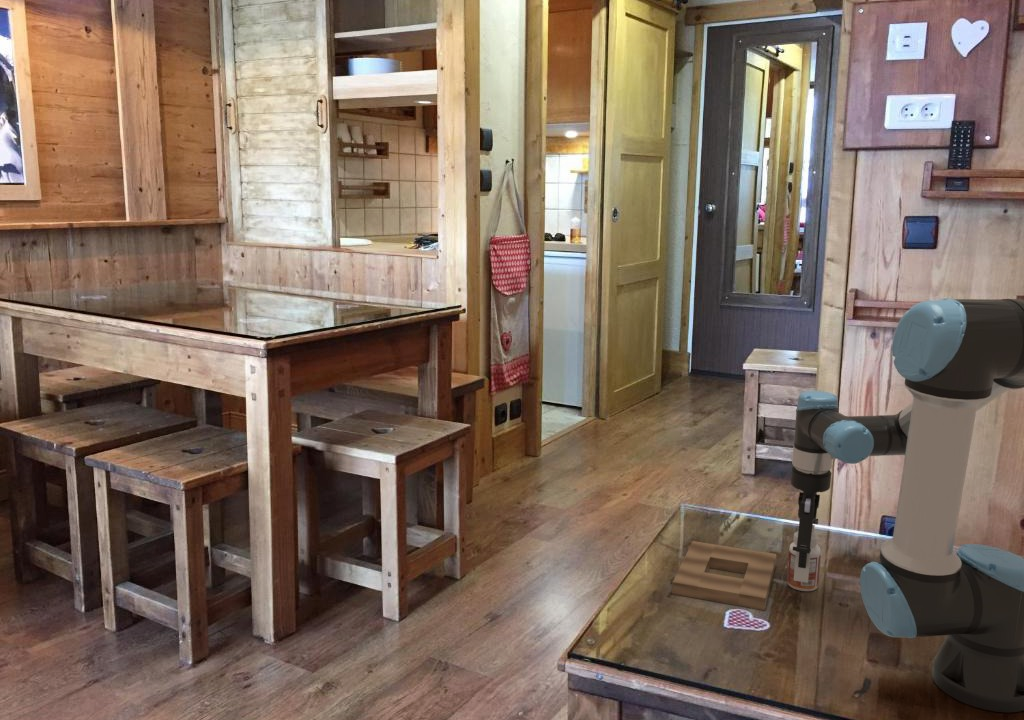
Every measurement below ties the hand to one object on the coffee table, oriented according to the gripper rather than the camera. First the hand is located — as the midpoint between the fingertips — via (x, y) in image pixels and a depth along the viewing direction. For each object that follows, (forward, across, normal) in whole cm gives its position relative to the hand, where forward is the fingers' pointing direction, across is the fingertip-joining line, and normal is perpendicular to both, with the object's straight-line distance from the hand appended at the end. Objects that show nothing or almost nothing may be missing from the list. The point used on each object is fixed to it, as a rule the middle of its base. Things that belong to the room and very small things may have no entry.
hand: (803, 566), depth 179 cm
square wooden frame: (+4, -3, +15) cm, 16 cm away
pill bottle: (+4, 0, 0) cm, 4 cm away
